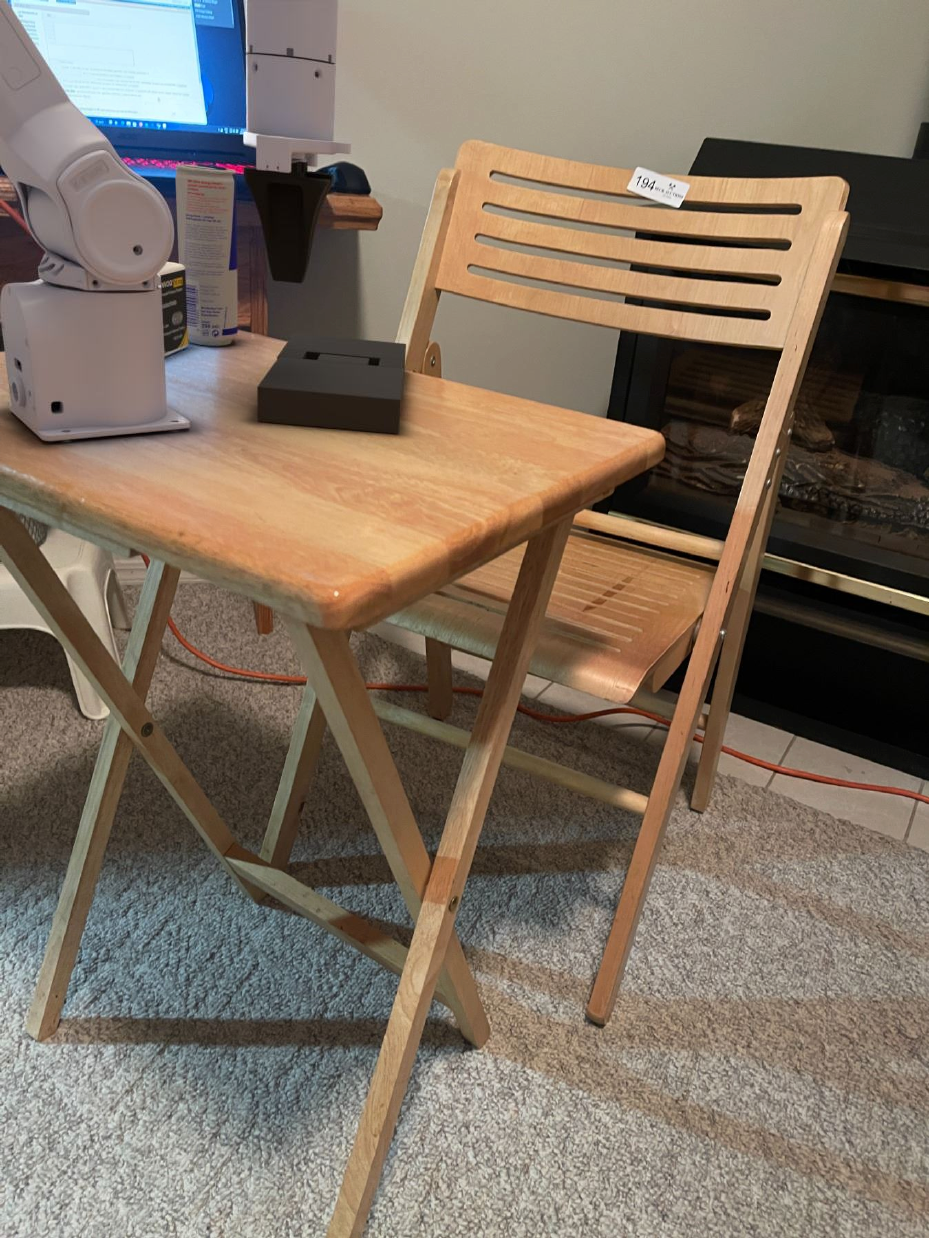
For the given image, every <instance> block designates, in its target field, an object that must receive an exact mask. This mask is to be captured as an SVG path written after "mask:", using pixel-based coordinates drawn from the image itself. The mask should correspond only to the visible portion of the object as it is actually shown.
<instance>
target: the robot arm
mask: <svg viewBox="0 0 929 1238" xmlns="http://www.w3.org/2000/svg"><path fill="white" fill-rule="evenodd" d="M338 9H339V0H245V48H246V49H245V54H246V55H245V67H246V68H245V73H246V74H245V78H246V79H245V83H246V84H245V85H246V86H245V87H246V88H245V89H246V91H245V95H246V97H245V98H246V104H245V105H246V107H245V108H246V131H243V145H244V146H247V147H251V148H253V149H254V148H255V153H256V155H255V158H256V159H255V160H256V161H255V162H256V163H255V164H256V165H255V166H244V167H243V170H242V171H243V178H244V182H245V185H246V186H247V188H248V190H249V192H250V194H251V196H252V199H253V202H254V205H255V207H256V210H257V213H258V216H259V220H260V224H261V228H262V233H263V239H264V244H265V250H266V256H267V261H268V262H267V263H268V266H269V270H270V275H271V278H272V281H273V282H282V283H284V282H285V283H293V284H302V283H304V282H305V279H306V277H307V272H308V269H309V264H310V259H311V253H312V248H313V243H314V238H315V232H316V229H317V224H318V221H319V217H320V214H321V210H322V208H323V205H324V203H325V200H326V198H327V196H328V193H329V192H330V190H331V188H332V186H333V184H334V182H335V175H334V173H328V172H321V171H313V170H309V169H308V167H310V168H317V167H318V159H319V156H318V155H329V156H330V155H332V156H333V155H336V154H343V155H344V154H345V155H351V154H352V143H351V142H345V141H337V140H334V137H335V135H334V131H335V105H336V104H335V101H336V100H335V99H336V72H337V71H336V70H337V69H336V67H337V66H336V65H337V44H338V43H337V42H338ZM0 168H1V169H2V171H3V172H4V174H5V175H6V176H7V177H8V179H9V181H10V182H11V184H12V185H13V187H14V188H15V190H16V192H17V194H18V198H19V200H20V204H21V208H22V213H23V219H24V222H25V224H26V227H27V229H28V232H29V233H30V235H31V236H32V238H33V239H34V241H35V242H36V243H37V244H38V246H40V248H41V249H43V250H44V251H45V252H44V254H43V256H42V258H41V261H40V262H39V265H38V266H37V271H38V278H39V279H37V280H33V281H29V282H10V283H7V284H5V285H3V287H2V288H1V293H0V323H1V333H2V341H3V347H4V348H3V349H4V355H5V364H6V372H7V381H8V390H9V397H10V402H9V403H8V409H9V411H11V412H12V414H14V415H15V416H16V417H17V418H18V419H19V420H20V421H22V423H23V424H24V425H25V426H26V427H28V428H29V429H30V430H31V431H32V432H33V433H34V434H35V435H36V436H37V437H38V438H39V439H40V440H42V441H44V442H57V441H68V440H69V441H70V440H78V439H79V440H80V439H90V438H100V437H109V436H111V437H112V436H119V435H120V436H121V435H132V434H141V433H152V432H162V431H173V430H184V429H185V430H186V429H189V428H190V427H191V421H190V420H189V419H187V418H186V417H184V416H183V415H182V414H180V413H178V412H177V411H175V410H174V409H172V408H170V407H169V406H168V403H167V402H168V401H167V383H166V361H165V360H166V359H165V357H164V336H163V314H162V292H161V286H160V284H161V276H160V275H158V274H157V273H158V272H159V271H160V270H161V269H162V268H163V267H164V265H165V264H166V262H168V260H169V259H170V257H171V254H172V251H173V247H174V242H175V226H174V219H173V215H172V212H171V210H170V208H169V205H168V203H167V201H166V199H165V198H164V196H163V194H161V193H160V191H159V189H157V188H156V187H155V186H154V185H153V184H152V183H151V182H150V181H149V180H147V179H145V178H144V177H142V176H141V175H139V174H138V173H136V171H135V172H134V171H133V170H132V169H131V168H130V167H129V166H128V165H127V164H126V163H125V162H124V161H123V160H122V158H121V157H120V156H119V154H118V153H117V151H116V149H115V148H114V146H113V145H112V143H111V141H110V140H109V139H108V138H107V137H106V136H105V134H104V133H102V131H101V130H99V128H98V127H97V126H96V125H95V124H94V123H93V122H92V121H91V120H90V119H89V118H88V117H87V116H86V115H85V114H84V113H83V112H82V111H81V110H80V109H79V108H78V107H77V106H76V105H75V104H74V103H73V101H72V100H71V99H70V97H69V96H68V94H67V92H66V91H65V89H64V88H63V87H62V85H61V82H60V81H59V79H58V78H57V77H56V75H55V73H54V72H53V71H52V69H51V67H50V65H48V63H47V61H46V60H45V58H44V56H43V54H42V53H41V52H40V50H39V49H38V47H37V45H36V44H35V42H34V40H33V39H32V37H31V36H30V34H29V33H28V32H27V29H26V28H25V26H24V24H23V23H22V22H21V20H20V18H19V17H18V16H17V14H16V12H15V11H14V9H13V8H12V6H11V4H10V3H9V1H8V0H0Z"/></svg>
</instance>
